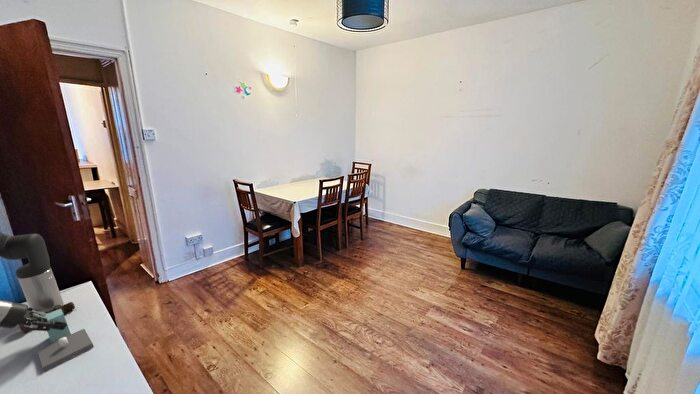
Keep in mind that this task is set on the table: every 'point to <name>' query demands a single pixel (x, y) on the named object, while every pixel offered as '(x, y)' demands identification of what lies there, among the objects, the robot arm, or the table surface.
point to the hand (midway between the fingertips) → (63, 323)
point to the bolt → (64, 309)
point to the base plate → (64, 349)
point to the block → (56, 333)
